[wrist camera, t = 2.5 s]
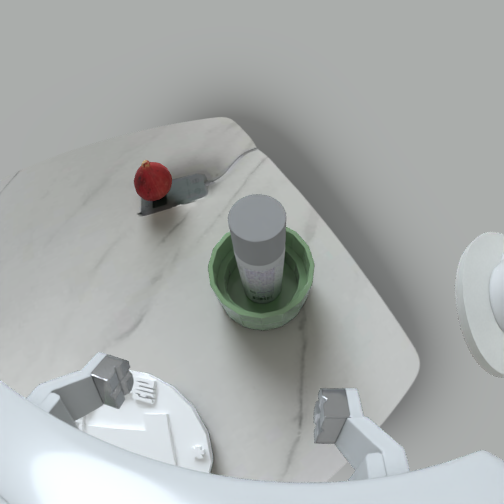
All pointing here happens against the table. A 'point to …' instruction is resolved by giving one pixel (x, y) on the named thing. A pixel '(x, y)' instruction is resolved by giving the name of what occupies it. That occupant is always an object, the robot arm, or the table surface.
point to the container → (259, 245)
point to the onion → (152, 181)
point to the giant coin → (154, 425)
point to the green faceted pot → (233, 294)
